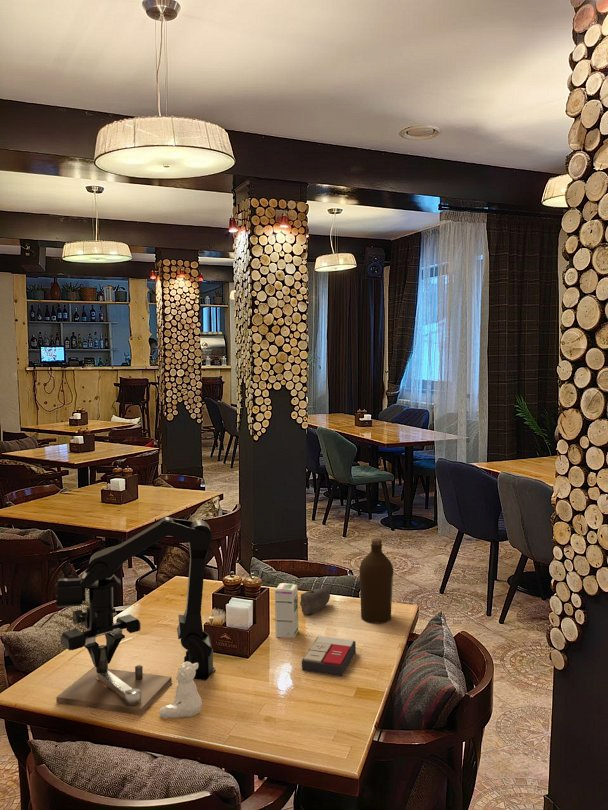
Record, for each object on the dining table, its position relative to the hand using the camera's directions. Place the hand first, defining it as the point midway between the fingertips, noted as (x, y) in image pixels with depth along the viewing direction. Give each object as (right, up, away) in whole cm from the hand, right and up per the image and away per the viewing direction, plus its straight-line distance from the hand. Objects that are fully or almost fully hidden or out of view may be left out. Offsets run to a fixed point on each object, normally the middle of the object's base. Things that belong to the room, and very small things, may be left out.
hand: (102, 665), depth 167 cm
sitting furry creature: (+23, -6, -12) cm, 27 cm away
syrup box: (+45, -3, +31) cm, 55 cm away
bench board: (+5, -5, -4) cm, 8 cm away
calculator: (+57, -5, +14) cm, 59 cm away
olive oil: (+73, -2, +44) cm, 85 cm away
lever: (+6, -3, -6) cm, 9 cm away
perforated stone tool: (+54, -2, +51) cm, 74 cm away
